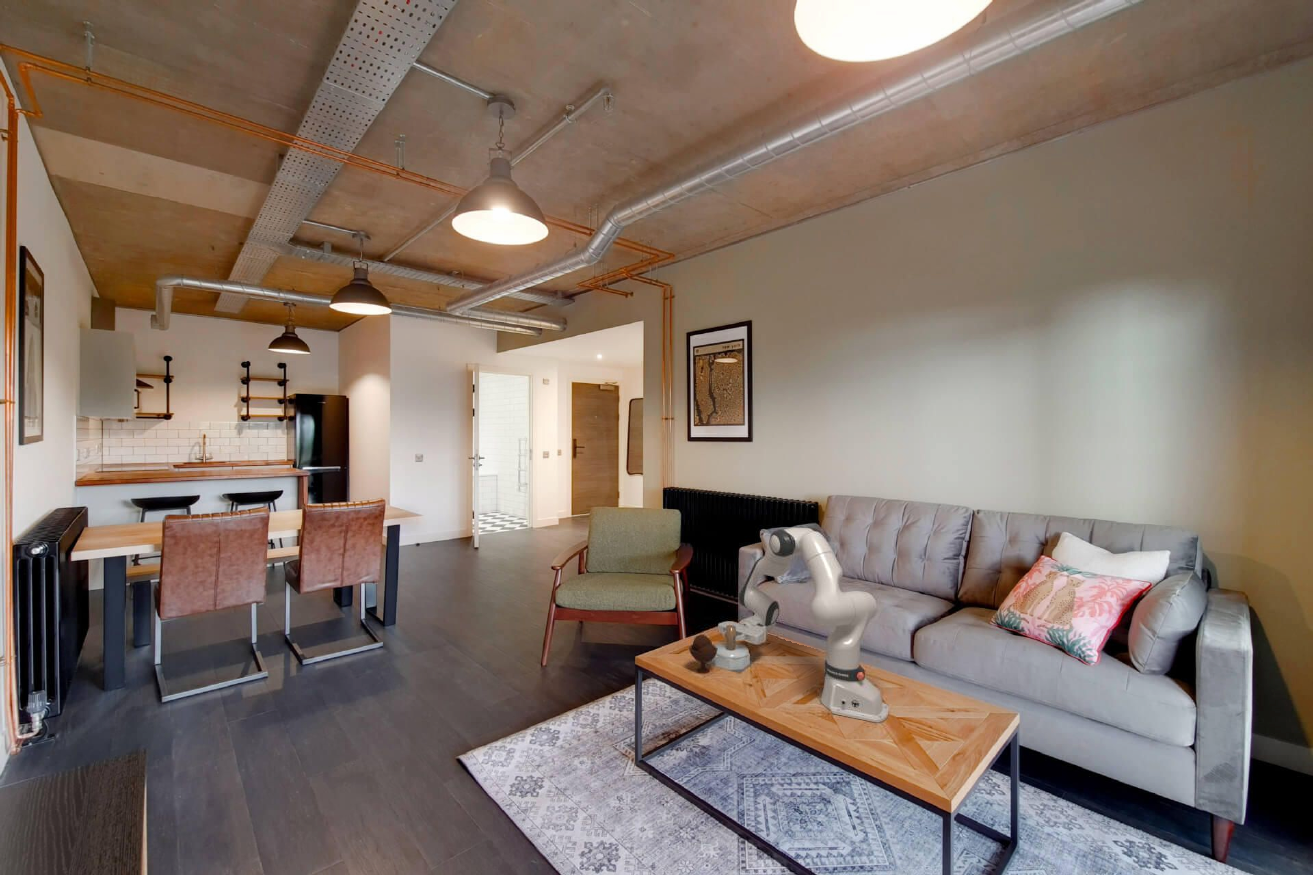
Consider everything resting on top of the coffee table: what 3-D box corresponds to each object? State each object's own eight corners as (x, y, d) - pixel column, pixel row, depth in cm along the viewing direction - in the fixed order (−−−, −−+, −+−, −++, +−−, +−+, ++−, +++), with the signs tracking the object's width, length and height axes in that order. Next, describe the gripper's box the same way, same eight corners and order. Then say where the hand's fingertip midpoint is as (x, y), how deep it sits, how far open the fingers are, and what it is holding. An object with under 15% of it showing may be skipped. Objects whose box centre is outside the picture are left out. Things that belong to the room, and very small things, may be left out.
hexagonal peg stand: (754, 660, 232) (754, 625, 232) (738, 672, 220) (739, 636, 220) (722, 652, 240) (723, 618, 240) (705, 663, 228) (706, 628, 228)
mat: (755, 661, 232) (755, 660, 232) (740, 674, 220) (740, 673, 220) (721, 652, 241) (721, 651, 241) (704, 664, 228) (704, 663, 228)
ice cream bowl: (718, 678, 216) (719, 639, 216) (689, 677, 216) (690, 638, 216) (715, 666, 227) (716, 629, 226) (688, 666, 227) (689, 629, 227)
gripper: (729, 615, 247) (709, 623, 237) (769, 627, 232) (750, 635, 222) (728, 629, 247) (709, 637, 237) (769, 642, 233) (750, 651, 223)
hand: (729, 637), depth 229 cm, fingers closed on hexagonal peg stand, 4 cm apart
